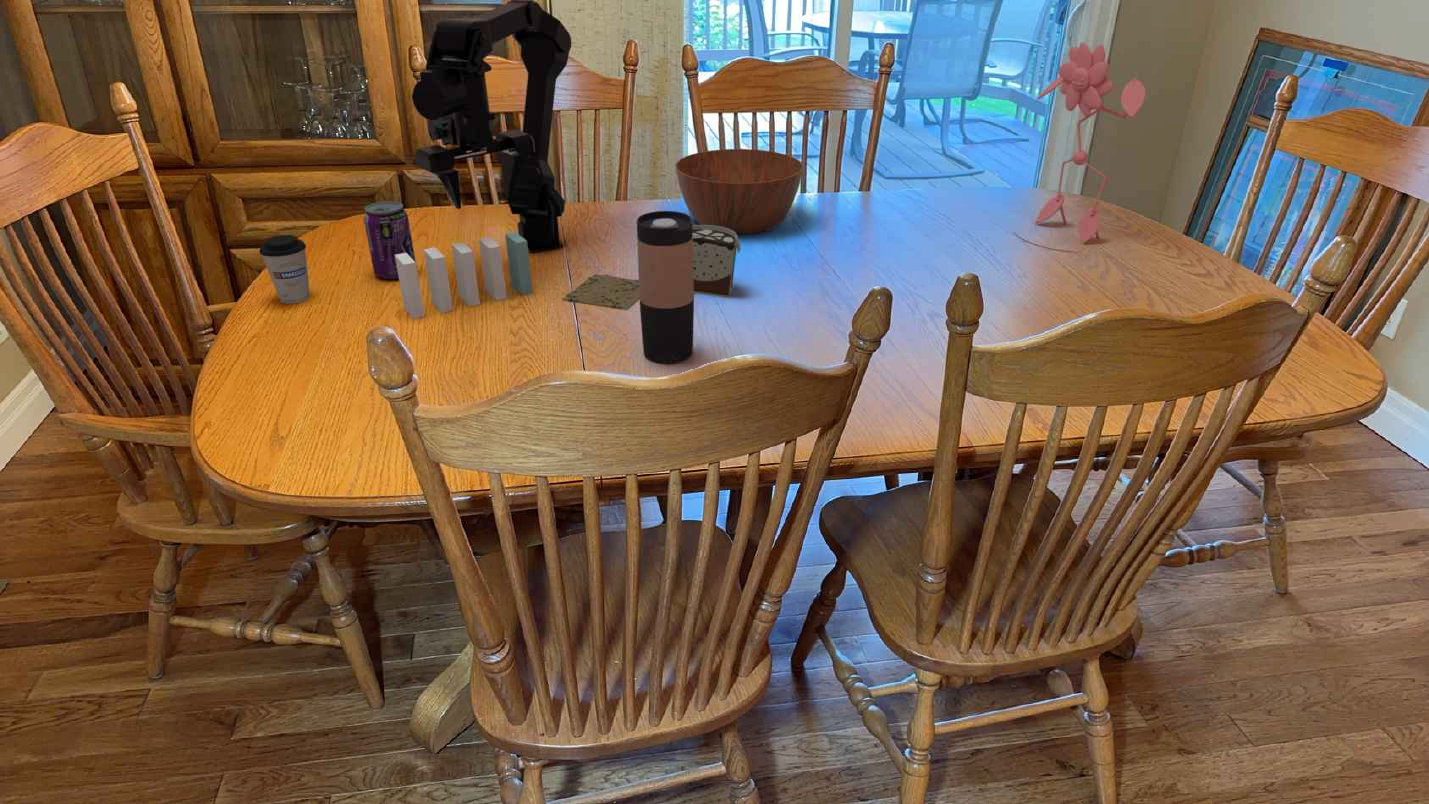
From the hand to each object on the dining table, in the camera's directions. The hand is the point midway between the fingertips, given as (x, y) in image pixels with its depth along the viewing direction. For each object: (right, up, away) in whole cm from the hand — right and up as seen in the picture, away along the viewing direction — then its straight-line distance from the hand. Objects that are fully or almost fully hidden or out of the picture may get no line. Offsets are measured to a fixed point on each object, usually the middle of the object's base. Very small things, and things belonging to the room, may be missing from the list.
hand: (483, 202), depth 152 cm
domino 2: (-5, -18, -5) cm, 19 cm away
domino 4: (+2, -15, 0) cm, 15 cm away
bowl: (+43, +3, +32) cm, 54 cm away
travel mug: (+32, -26, -19) cm, 45 cm away
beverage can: (-17, -11, +8) cm, 22 cm away
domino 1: (-9, -19, -7) cm, 22 cm away
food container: (+37, -14, +2) cm, 40 cm away
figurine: (+104, -1, +25) cm, 107 cm away
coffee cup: (-30, -16, -2) cm, 35 cm away
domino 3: (-2, -16, -3) cm, 17 cm away
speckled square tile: (+21, -15, +1) cm, 26 cm away
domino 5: (+6, -14, +2) cm, 15 cm away
